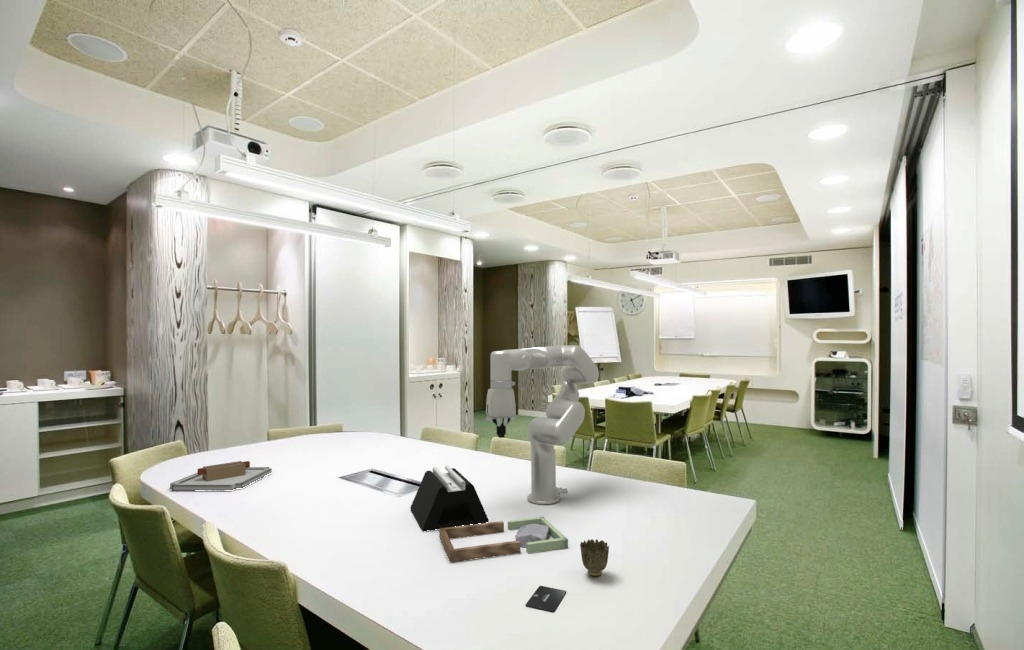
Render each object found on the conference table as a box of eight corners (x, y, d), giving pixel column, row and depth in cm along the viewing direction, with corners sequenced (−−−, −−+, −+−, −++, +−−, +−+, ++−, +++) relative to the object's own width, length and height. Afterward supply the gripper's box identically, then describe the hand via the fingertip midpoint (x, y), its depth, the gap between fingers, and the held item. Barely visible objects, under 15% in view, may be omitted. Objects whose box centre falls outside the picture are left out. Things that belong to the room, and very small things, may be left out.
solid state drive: (524, 608, 112) (524, 605, 112) (539, 588, 121) (539, 585, 121) (553, 614, 110) (553, 611, 110) (566, 593, 119) (566, 590, 119)
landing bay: (543, 524, 163) (543, 516, 164) (568, 547, 144) (567, 539, 145) (507, 528, 160) (507, 520, 160) (528, 553, 141) (528, 544, 141)
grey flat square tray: (237, 493, 201) (238, 474, 201) (165, 492, 202) (166, 474, 202) (274, 473, 231) (274, 457, 231) (211, 473, 232) (211, 457, 232)
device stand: (422, 532, 157) (422, 485, 158) (410, 510, 178) (410, 469, 179) (488, 523, 165) (488, 478, 166) (469, 503, 186) (469, 463, 187)
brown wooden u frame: (502, 530, 158) (502, 520, 158) (520, 552, 141) (520, 542, 141) (439, 538, 152) (439, 528, 152) (449, 562, 135) (449, 551, 135)
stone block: (515, 554, 145) (548, 549, 143) (512, 537, 145) (545, 532, 144) (520, 540, 156) (551, 535, 155) (517, 524, 157) (548, 520, 155)
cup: (577, 569, 131) (577, 539, 131) (604, 568, 131) (604, 538, 131) (584, 583, 123) (583, 550, 123) (612, 581, 124) (612, 549, 124)
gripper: (517, 384, 181) (517, 433, 181) (478, 385, 177) (478, 436, 176) (524, 385, 174) (524, 437, 173) (483, 386, 170) (483, 440, 169)
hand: (501, 436), depth 175 cm, fingers closed
